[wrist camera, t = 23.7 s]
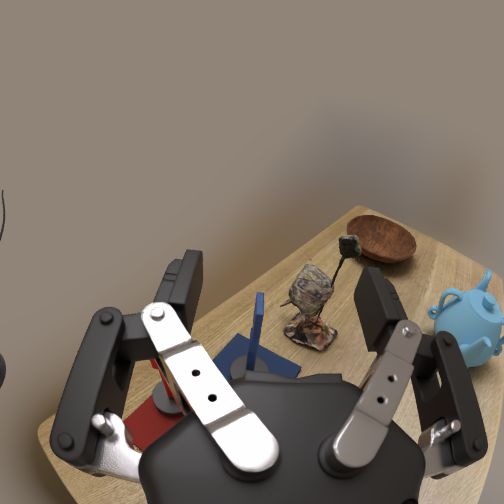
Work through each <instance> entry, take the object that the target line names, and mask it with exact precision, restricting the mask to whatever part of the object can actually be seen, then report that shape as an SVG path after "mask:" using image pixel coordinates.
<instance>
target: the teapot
mask: <svg viewBox="0 0 504 504" xmlns="http://www.w3.org/2000/svg"><path fill="white" fill-rule="evenodd" d="M490 278H491V270H490V269H488V270H487V271H486V273H485V275H484V277H483V279H482V281H481V282H480V283H479V284H478V286H477V287H476V288H475V289H472V290H469V291H466V292H464V293H462V292H461V291H460V290H458V289H456V288H449V289H446V290H445V291H444V292H443V294H442V296H441V298H440V301H439V305H438V307H437V306H431V307H430V308H429V310H428V315H429V317H430V318H431V319H433V320H435V334H437V333H438V332H439V331H447V332H449V333H451V334H452V335H453V336H454V337H455V338H456V340H457V342H458V345H459V348H460V350H461V353H462V355H463V358H464V361H465V364H466V366H467V369H469V367H474V366H480V365H482V364H484V363H485V362H487V360H488V359H489V358H490V357H491V355H493V356H498V355H499V354H500V353H501V351H502V346H501V345H502V344H503V343H504V336H503V337H502V338H500V339H499V337H500V333H501V327H502V325H504V318H502V312H501V309H500V307H499V305H498V304H497V302H496V299H495V297H494V296H493V295H492V294H490V293H488V292H486V289H487V286H488V284H489V281H490ZM485 292H486V293H485ZM448 295H455V297H454V298H452V299H451V300H449V301H448V302H447V303H446V304H445V305H444V306H443V303H444V300H445V298H446V297H447V296H448ZM432 310H435V311H437V312H436V313H433V311H432ZM496 348H497V349H498V350H496Z"/></svg>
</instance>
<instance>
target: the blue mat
mask: <svg viewBox="0 0 504 504" xmlns="http://www.w3.org/2000/svg"><path fill="white" fill-rule="evenodd" d="M248 347H249V339H248V338H246V337H244V336H242V335H240V334H239V333H237V334H236V335H235V337H234V338H233V339H232V340H231V341H230V342H229V343H228V344H227V345H226V346H225V347H224V348H223V350H222V351H221V352H220V353H219V354H218V355H217V356H216V357H215V358H214V359H213V360H212V361H213V363H214V364H215V366H216V367H217V369H218V370H219V371H220V373H221V374H222V376H223V377H224V378H225V380H226V381H229V380H230V367H231V365H232V363H233V362H234V361H235V360H236V359H237V358H239V357H242V356H247V355H248ZM256 357H258V358H260V359H261V360H263V361H264V362H265V364H266V365H267V367H268V370H269V372H272V373H275V374H279V375H283V376H286V377H290V378H295V377H296V376H297V374H298V372H299V371H300V369H301V366H299V365H297V364H295V363H293V362H291V361H289V360H287V359H285V358H283V357H281V356H279V355H277V354H275V353H273V352H272V351H270V350H268V349H266V348H264V347H262V346H260V345H258V350H257V356H256Z"/></svg>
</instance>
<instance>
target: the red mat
mask: <svg viewBox="0 0 504 504" xmlns="http://www.w3.org/2000/svg"><path fill="white" fill-rule="evenodd" d="M183 417H184V415H183V416H180V417H168V416H165V415H163V414H162V413H161V412H159V410H158V409H157V408H156V406H155V404H154V402H153V397H152V395H151V396H150V397H149V398H148V399H147V400H146V401H145V402H144V403H143V404H141V405H140V406H139V407H138V408H137V409H136V410H135V411H134V412H133V413H132V414H131V415H130V416H129V417H128V418H127V419H125V420H124V421H123V423H124V424H125V425H126V426H127V427H128V428H129V430H130V431H131V433H132V438H133V443H134V444H135V445H136V446H137V447H138V448H140V449H141V450H142V451H143V452H144V450H145V449H146V448H147V447H148V446H149V445H150V444H151V443H152V442H154V441H155V440H156V439H157V438H159V437H160V436H161V435H162V434H164V433H165V432H166V431H167V430H169V429H170V428H171V427H172V426H173V425H175V424H176V423H177V422H178V421H179V420H181V419H182V418H183Z"/></svg>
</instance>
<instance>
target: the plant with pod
mask: <svg viewBox="0 0 504 504" xmlns="http://www.w3.org/2000/svg"><path fill="white" fill-rule="evenodd" d="M339 248H340V254H341V255H342V258H341V260H340V263H339V266H338V268H337V270H336V272H335V275H334V277H333V279H332V280H331V279H330V278H329V277H328V275H327V274H326V273H324V272H323V271H322V270H320V269H318V268H316V267H315V266H314V265H311V264H306V265H305V266H304V268H303V269H302V270H301V272H300V274H298V276H297V277H296V279H295V281H294V282H293V284H292V286H291V288H290V290H289V297H290V299H289V300H287V301H286V302H284V303H282V304H281V305H280V307H282V306H285V305H287V304H289V303H292V304H293V305H295V306H297V307H298V308H299V310H300V312H301V313H300V312H299V313H297V314H296V317H294V319H292V320H291V322H289V324H288V325H287V326H286V327H285V328H284V333H285V334H286V335H287V336H289V337H290V338H292V339H293V340H295V341H296V342H297V343H302V344H307V345H308V346H314V347H316V349H318V350H319V351H320V350H324V348H326V347H327V345H331V344H329V343H328V342H330V341H331V339H332V340H333V338H334V337H335V336H336V335H338V333H337V331H336V330H335V329H334V328H331V327H330V326H329V325H328V324H327V323H326V322H325V321H324V319H322V320H321V318H320V317H319V316H320V313H321V312H322V309H323V307H324V304H325V303H326V302H327V301H328V299H330V297H331V295H332V293H333V292H334V281H335V278H336V276H337V273H338V271H339V269H340V268H341V266H342V264H343V262H344V259H347V258H354V257H355V258H356V259H357V262H358V263H359V264H360V263H361V262H360V258H359V256H360V255H361V251H362V250H361V246H360V241H359V239H358V237H357V236H356V235H347V236H346V235H345V236H342V237H340V238H339ZM309 260H310V261H311V259H309ZM320 310H321V311H320ZM318 313H319V314H318ZM317 314H318V317H317V316H316V315H317ZM329 340H330V341H329ZM330 343H331V342H330Z"/></svg>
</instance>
